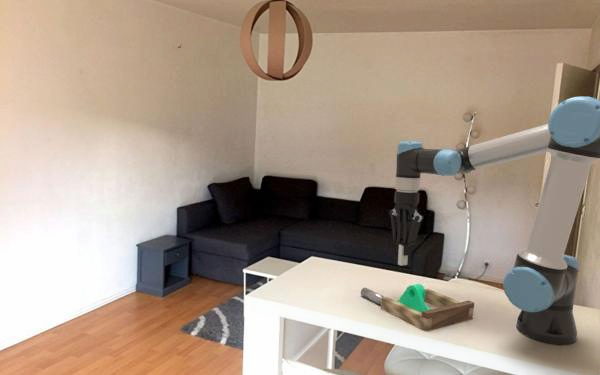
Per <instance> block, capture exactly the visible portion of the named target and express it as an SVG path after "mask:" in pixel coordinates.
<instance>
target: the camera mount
mask: <svg viewBox="0 0 600 375" xmlns="http://www.w3.org/2000/svg"><path fill="white" fill-rule="evenodd" d="M425 289H426V288H425V287H424V285H423V284H420V283H417V284H412V285H411V284H410V285H408V286H407V287H406V289H405V290H404V291H403V293H402V295H400V298H399V299H398V300H397V302H399V303H402V304H404V305H406V306H408V307H410V308H412V309H414V310H416V311H419V312H421V313H422V311H425V310H430V309H432V307H429V306H426V305H427V304H426V301H424V299H423V298H424V297H425V295H426V292H425Z"/></svg>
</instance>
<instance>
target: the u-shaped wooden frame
mask: <svg viewBox="0 0 600 375" xmlns="http://www.w3.org/2000/svg"><path fill="white" fill-rule="evenodd" d="M425 292H426V295H425V297H424V298H423V299H424V302H425V303H426V302H427V303H428V304H431V305H433V306H435V308H431V309H430V310H425V311H422V313H421V312H419V311H416V310H414V309H412V308H410V307H408V306H406V305H404V304H402V303H399V302H398V300H396V299H395V300H394V299H393V298H390V297H389V296H385V297H382V302H381V305H380V309H382V310H383V311H385V312H386V313H388V314H391V315H393V316H395V317H396V318H399V319H400V320H403V321H404V322H407V323H409V324H410V325H413V326H415V327H417V328H418V329H420V330H422V331H425V332H428V331H432V330H436V329H439V328H444V327H447V326H450V325H451V326H452V325H455V324H458V323H462V322H467V321H470V320H473V319H474V318H473V316H474V312H475V310H474V309H475V302H474V301H471V300H465V301H458V300H457V299H455V298H452V297H449V296H447V295H445V294H441V293H440V292H437V291H434V290H432V289H430V288H425Z"/></svg>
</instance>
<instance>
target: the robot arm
mask: <svg viewBox="0 0 600 375" xmlns="http://www.w3.org/2000/svg"><path fill="white" fill-rule="evenodd" d="M396 152H397V153H396V168H395V169H396V170H395V171H396V173H395V183H394V189H395V191H394V199H393V200H394V201H393V202H394V203H395V205H394V208H393V209H391V210H388V214H389V217H390V224H391V232H392V233H391V234H392V240H393V241H394V242H396V243H397V250H396V252H397V254H398V255H397V265H398V266H402V267H403V266H407V265H408V262H409V261H408V257H409V256H410V250H411V249H410V248H411V245H415V244H416V241H417V238H418V235H419V230H420V227H421V223H422V222H423V220H424V215H421V214H420V213H419V212H418V211H419V210H418V204H419V203H420V193H419V191H420V189H421V188H420V187H421V175H422V174H430V175H438V176H442V177H445V176H447V177H449V176H455V175H456V174H459V175H464V174H469V173H471V172H472V171H475V170H479V169H484V168H488V167H492V166H496V165H499V164H504V163H508V162H513V161H517V160H520V159H525V158H529V157H533V156H537V155H542V154H546V153H549V154H550V155H551V159H550V162H549V166H548V170H547V173H546V176H545V180H544V184H543V187H542V190H541V194H540V197H539V202H538V205H537V208H536V212H535V216H534V218H533V222H532V226H531V228H530V232H529V236H528V240H527V243H526V246H525V247H524V248H521V249H519V250H518V251H517V254H516V257H515V262H514V265H513V268H511V269H509V270H508V272H507V273H506V275H505V276H504V279H503V283H502V285H503V291H504V294H505V296H506V297H507V299H508V301H509V302H510V304H512V305H513V306H514V307H515V308H517V309H519V310H520V312H519V315H518V316H517V319H516V324H515V325H516V326H515V327H516V329H517V330H518V332H520V333H521V334H523V335H524V336H526V337H529V338H531V339H533V340H537V341H539V342H544V343H547V344H554V345H571V344H574V343H576V341H577V339H578V338H577V337H578V330H577V325H576V321H575V316H574V312H573V310H574V304H575V297H576V288H577V282H578V275H579V271H580V268H579V265H580V263H579V262H580V261H579V260H578V259H577V257H574V256H571V255H568V254H565V252H566V249H567V246H568V242H569V239H570V235H571V232H572V230H573V226H574V223H575V220H576V219H575V218H576V217H577V213H578V209H579V206H580V204H581V200H582V196H583V193H584V191H585V186H586V183H587V181H588V176H589V174H590V172H591V167H592V165H594V164H595V163H596V162H599V161H600V99H598V98H596V97H591V96H583V95H582V96H580V95H579V96H573V97H570V98H568V99H566V100H563V101H561V102H560V103H558V105H557V106H555V107H554V109H553V110H552V111H551V114H550V115H549V118H548V122H547V123H545V124H543V125H539V126H535V127H531V128H528V129H525V130H521V131H518V132H514V133H510V134H508V135H504V136H501V137H497V138H493V139H489V140H487V141H484V142H480V143H476V144H472V145H470V146H466V147H465V146H464V147H461V148H459V149H449V148H448V149H446V148H443V149H441V148H440V149H439V148H425V147H424V146H423V142H421V141H407V140H406V141H400V142H399V143H398V145H397V151H396Z"/></svg>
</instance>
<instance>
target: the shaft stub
mask: <svg viewBox="0 0 600 375" xmlns="http://www.w3.org/2000/svg"><path fill="white" fill-rule="evenodd" d="M360 296H361V297H362V298H364V299H367V300H369V301H371V302H373V303H375V304H377V305H379V306H381V302H382V297H386V296H385V295H383V294H380V293H378V292H375V291H373V290H371V289H369V288H367V287H362V289H361V290H360Z"/></svg>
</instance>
